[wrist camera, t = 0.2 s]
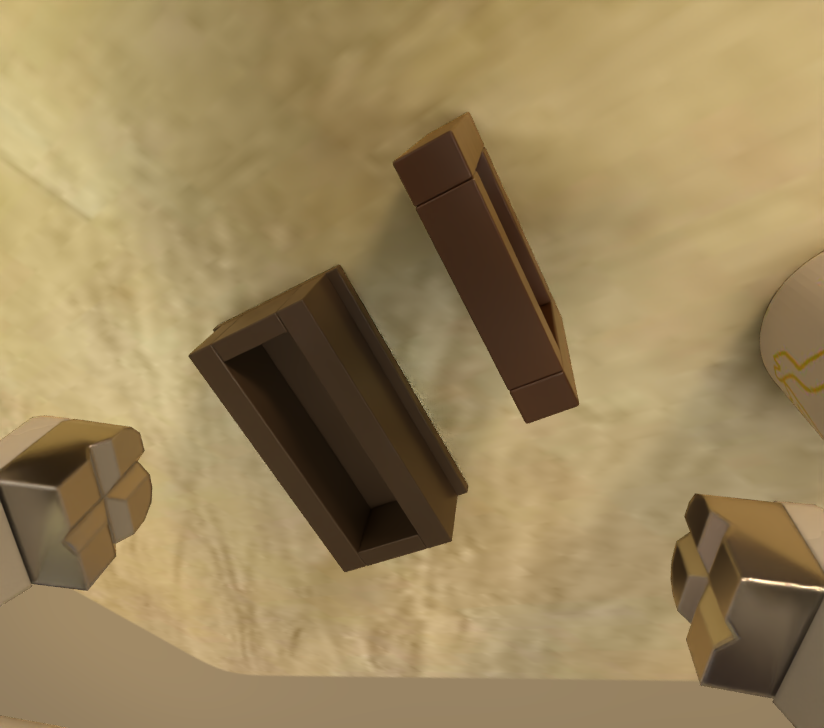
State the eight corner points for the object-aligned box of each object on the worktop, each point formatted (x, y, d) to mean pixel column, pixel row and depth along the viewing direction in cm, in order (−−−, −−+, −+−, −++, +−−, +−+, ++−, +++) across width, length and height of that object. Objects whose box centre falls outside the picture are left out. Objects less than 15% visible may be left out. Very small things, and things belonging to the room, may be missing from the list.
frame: (469, 110, 24) (451, 129, 17) (562, 318, 27) (580, 406, 20) (425, 134, 24) (391, 162, 17) (522, 334, 28) (526, 425, 21)
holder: (339, 263, 28) (313, 293, 24) (468, 485, 32) (463, 538, 29) (217, 325, 30) (176, 360, 27) (353, 523, 35) (334, 575, 31)
